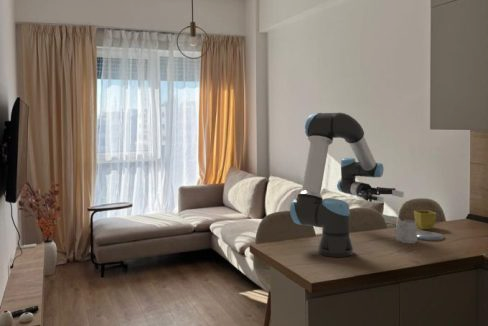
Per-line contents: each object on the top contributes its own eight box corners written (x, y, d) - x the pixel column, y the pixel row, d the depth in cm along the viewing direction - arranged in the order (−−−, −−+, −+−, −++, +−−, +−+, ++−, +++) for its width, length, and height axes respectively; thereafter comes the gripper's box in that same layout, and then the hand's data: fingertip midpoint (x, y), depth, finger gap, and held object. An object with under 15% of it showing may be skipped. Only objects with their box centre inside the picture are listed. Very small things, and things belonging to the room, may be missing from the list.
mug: (420, 242, 219) (421, 217, 218) (400, 245, 214) (401, 219, 213) (409, 238, 226) (410, 214, 225) (389, 241, 222) (390, 216, 220)
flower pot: (412, 226, 251) (413, 210, 251) (428, 226, 252) (428, 210, 252) (420, 230, 243) (421, 213, 242) (436, 230, 244) (437, 213, 243)
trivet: (415, 240, 222) (415, 238, 222) (407, 233, 237) (407, 231, 237) (447, 241, 221) (448, 238, 221) (437, 233, 236) (437, 231, 236)
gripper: (378, 192, 247) (411, 200, 229) (343, 201, 235) (374, 209, 217) (378, 178, 246) (410, 185, 228) (343, 186, 234) (374, 194, 215)
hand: (393, 197), depth 222 cm, fingers open, 13 cm apart
